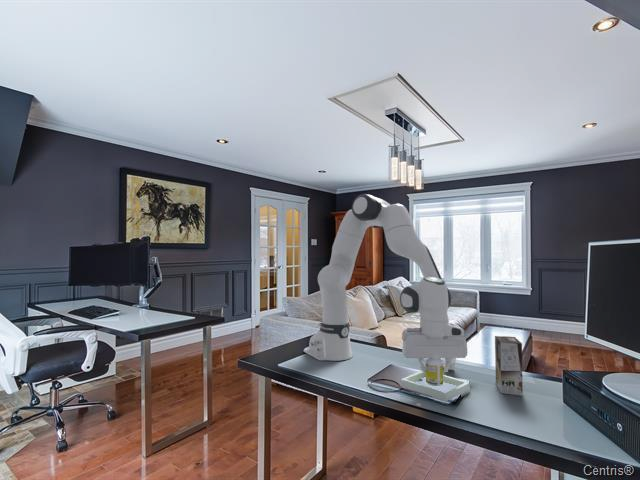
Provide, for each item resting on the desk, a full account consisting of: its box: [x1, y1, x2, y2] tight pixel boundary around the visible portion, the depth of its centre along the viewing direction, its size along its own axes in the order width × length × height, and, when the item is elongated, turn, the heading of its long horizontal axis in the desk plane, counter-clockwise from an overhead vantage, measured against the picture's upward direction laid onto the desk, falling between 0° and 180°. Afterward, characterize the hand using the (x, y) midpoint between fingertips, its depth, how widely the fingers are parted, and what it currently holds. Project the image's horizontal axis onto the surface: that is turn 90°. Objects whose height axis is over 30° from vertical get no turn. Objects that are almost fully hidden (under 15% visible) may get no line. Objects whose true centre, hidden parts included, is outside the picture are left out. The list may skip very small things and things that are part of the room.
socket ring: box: [367, 382, 396, 393], centre depth 114 cm, size 11×11×1 cm
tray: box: [400, 370, 471, 402], centre depth 110 cm, size 16×14×3 cm
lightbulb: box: [448, 358, 457, 372], centre depth 128 cm, size 6×6×11 cm
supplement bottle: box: [425, 355, 444, 386], centre depth 110 cm, size 5×5×10 cm
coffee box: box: [494, 335, 524, 396], centre depth 111 cm, size 9×6×16 cm
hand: (434, 371), depth 110 cm, fingers closed on supplement bottle, 5 cm apart
